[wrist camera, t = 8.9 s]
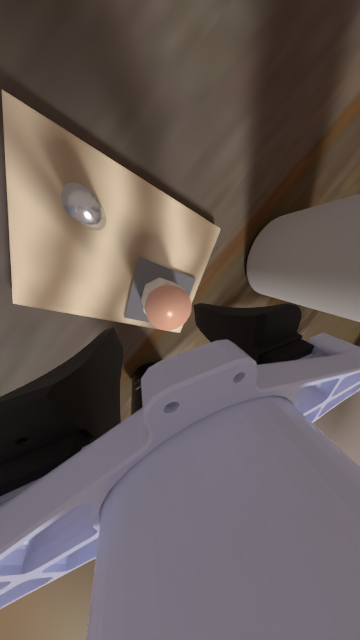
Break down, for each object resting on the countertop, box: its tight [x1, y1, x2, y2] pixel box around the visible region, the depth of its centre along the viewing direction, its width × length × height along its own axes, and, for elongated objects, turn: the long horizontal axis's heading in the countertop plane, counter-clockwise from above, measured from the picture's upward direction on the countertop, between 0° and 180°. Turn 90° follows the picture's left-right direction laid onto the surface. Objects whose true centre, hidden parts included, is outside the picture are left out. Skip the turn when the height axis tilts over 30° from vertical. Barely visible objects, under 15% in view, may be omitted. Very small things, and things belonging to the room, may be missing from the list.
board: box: [2, 90, 221, 333], centre depth 16 cm, size 20×16×2 cm
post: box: [61, 183, 106, 231], centre depth 12 cm, size 2×2×4 cm
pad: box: [125, 257, 196, 322], centre depth 18 cm, size 8×8×1 cm
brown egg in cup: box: [141, 277, 192, 330], centre depth 16 cm, size 5×5×5 cm
